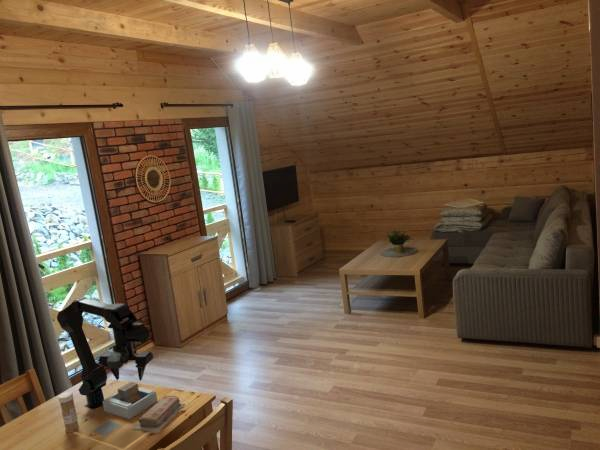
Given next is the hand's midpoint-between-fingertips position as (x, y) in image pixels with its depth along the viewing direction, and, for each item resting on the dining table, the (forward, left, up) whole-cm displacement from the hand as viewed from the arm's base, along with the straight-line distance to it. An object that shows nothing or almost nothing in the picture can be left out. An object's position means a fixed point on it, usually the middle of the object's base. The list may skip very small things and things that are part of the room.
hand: (129, 379), depth 191 cm
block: (-4, +1, -12) cm, 13 cm away
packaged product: (+13, 0, -13) cm, 19 cm away
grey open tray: (-4, +1, -13) cm, 13 cm away
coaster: (0, -13, -13) cm, 18 cm away
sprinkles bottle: (-12, -18, -13) cm, 25 cm away
